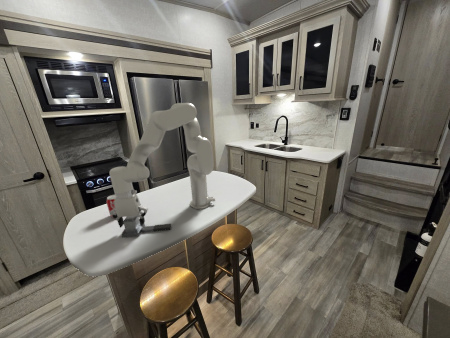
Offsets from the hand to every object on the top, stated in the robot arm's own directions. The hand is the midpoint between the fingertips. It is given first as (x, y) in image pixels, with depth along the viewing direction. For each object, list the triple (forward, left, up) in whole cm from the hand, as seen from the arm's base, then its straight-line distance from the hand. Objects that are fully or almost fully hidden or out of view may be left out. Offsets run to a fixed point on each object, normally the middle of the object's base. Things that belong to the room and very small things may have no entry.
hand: (132, 224), depth 87 cm
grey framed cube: (0, 0, -2) cm, 2 cm away
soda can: (+15, -16, -4) cm, 22 cm away
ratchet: (-7, 0, -4) cm, 8 cm away
